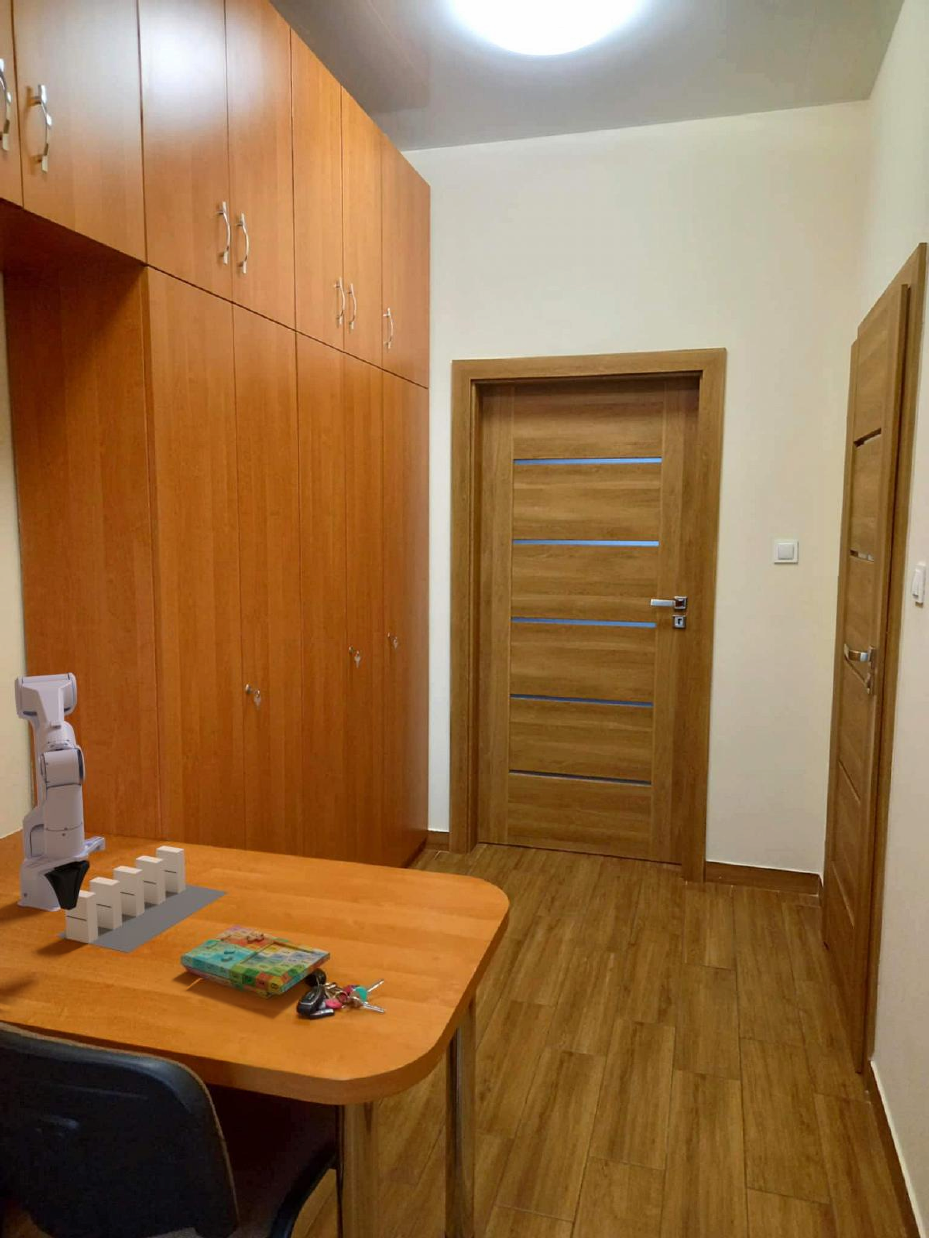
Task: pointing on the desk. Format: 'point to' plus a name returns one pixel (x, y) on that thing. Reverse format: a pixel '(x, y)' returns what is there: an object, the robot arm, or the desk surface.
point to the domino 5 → (173, 868)
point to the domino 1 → (83, 919)
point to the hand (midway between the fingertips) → (68, 907)
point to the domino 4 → (152, 878)
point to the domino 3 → (130, 890)
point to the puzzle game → (253, 961)
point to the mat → (154, 919)
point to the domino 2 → (107, 902)
